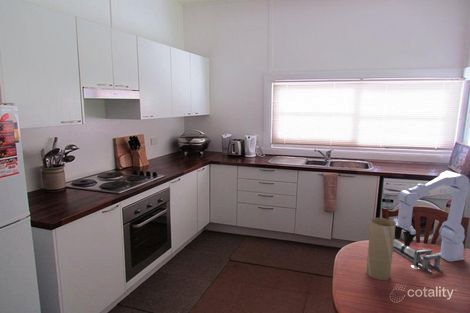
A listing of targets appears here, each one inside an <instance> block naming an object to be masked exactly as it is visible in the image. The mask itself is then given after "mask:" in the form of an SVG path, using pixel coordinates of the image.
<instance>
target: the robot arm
mask: <svg viewBox="0 0 470 313" xmlns="http://www.w3.org/2000/svg"><path fill="white" fill-rule="evenodd" d="M469 183H470V179H469V178H468V176H467V175H465V174H461V173H458V172H454V171H451V170H444V172H443V171H442V172H440V174H439V176H437V177H435V178H433V179H432V180H430V181H429V182H426V183H425V184H424V183H417V184H416V186H413V187H410V188H408V189H407V190H405V189H404V190H400V192H399V193H398V195H397V196H396V198H397V200H398V204H399V207H398V216H397V218H393V219H392V221H393V222H395V224H396V226H395V236H394V239H396V240H400V239H401V237H402V234H403V239H404V241H403V242H404V243H403V244H404V245H405V246H408V247H410V246H411V243H412V242H413V239H414V238H415V237H416V236H417V231H416V229H414V227H413V226H412V219H413V209H414V205H415V204H416V203H417V201H418V200H420V199H421V198H424V197H425V196H428V195H429V193H430V191H433V190H435V189H437V188H439V187H442V186H449V187H450V189H451V190H453V193H452V198H451V203H450V207H449V212H448V215H447V220H446V221H443V222H442V223H441V224H442V225H441V226H440V228H439V231H438V233H439V234H440V236H441V237H440V238H441V246H440V252H436V253H435V254H440V255H441V258H440V259H443V260H446V261H447V262H448V263H449V262H455V261H457V262H458V261H463V260H465V258H464V257H463V256H464V249H465V246H464V243H463V242H464V240H465V238H466V237H465V236H466V235H465V228H464V227H463V225H462V220H463V219H462V218H463V214H464V211H465V207H466V206H465V205H466V200H467V197H468V192H469ZM403 230H405V231H403Z"/></svg>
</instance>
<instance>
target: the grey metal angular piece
mask: <svg viewBox="0 0 470 313" xmlns="http://www.w3.org/2000/svg"><path fill="white" fill-rule="evenodd" d="M393 251H394V252H396V253H397V254H398V255H401V256H402V257H403V258H406V259H407V260H409V261H410V262H412V263H413V265H410V268H411V269H413V270H420V268H421V270H422V271H426V272H427V273H429V274H431V275H432V274H433V271H432V270H431V269H430V268H428V265H429V266H430V267H432V268H434V269H435V270H437V271H438V272H440V273H441V272H444V270H443V269H442V268H440V264H441V259H442V258H441V255H440V254H436V253H433V254H432V251H433V250H432V249H430V248H427V249H418V250H415V254H414V259H413V258H411V257H409V256H408V255H406V254H404V253H403V252H401V251H400V250H398V249H396V248H395V247H393ZM420 255H421V259H420V260H421V261H422V262H421V263H420V260H419V256H420ZM422 255H423V257H422ZM431 260H434V262H433V263H431Z"/></svg>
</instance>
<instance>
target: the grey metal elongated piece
mask: <svg viewBox="0 0 470 313" xmlns="http://www.w3.org/2000/svg"><path fill="white" fill-rule="evenodd" d="M393 247H394V248H395V249H397V250H399V251H400V252H402V253H403V254H405V255H407V256H408V257H410V258H411V259H413V260H414V254H415V251H416V250H415V249H413V248H411V247H410V246H405V245H404V243H402V242H401V241H400V240H399V239H395V238H394V245H393ZM421 257H422V255H420V256H419V261H420V259H421Z"/></svg>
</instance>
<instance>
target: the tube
mask: <svg viewBox="0 0 470 313" xmlns="http://www.w3.org/2000/svg"><path fill="white" fill-rule="evenodd" d="M395 226H396V224H395V222H393V219H389V218H384V217H373V218H371V219H370V226H369V228H370V229H369V237H368V246H367V247H368V249H367V258H366V259H367V260H366V270H365V272H366V274H367V275H368V276H369V277H371V278H372V279H376V280H379V281H387V280H389V279H390V278H391V273H392V272H391V270H392V264H393V262H392V261H393V253H394V252H393V251H394V250H393V245H394V239H395Z"/></svg>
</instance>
